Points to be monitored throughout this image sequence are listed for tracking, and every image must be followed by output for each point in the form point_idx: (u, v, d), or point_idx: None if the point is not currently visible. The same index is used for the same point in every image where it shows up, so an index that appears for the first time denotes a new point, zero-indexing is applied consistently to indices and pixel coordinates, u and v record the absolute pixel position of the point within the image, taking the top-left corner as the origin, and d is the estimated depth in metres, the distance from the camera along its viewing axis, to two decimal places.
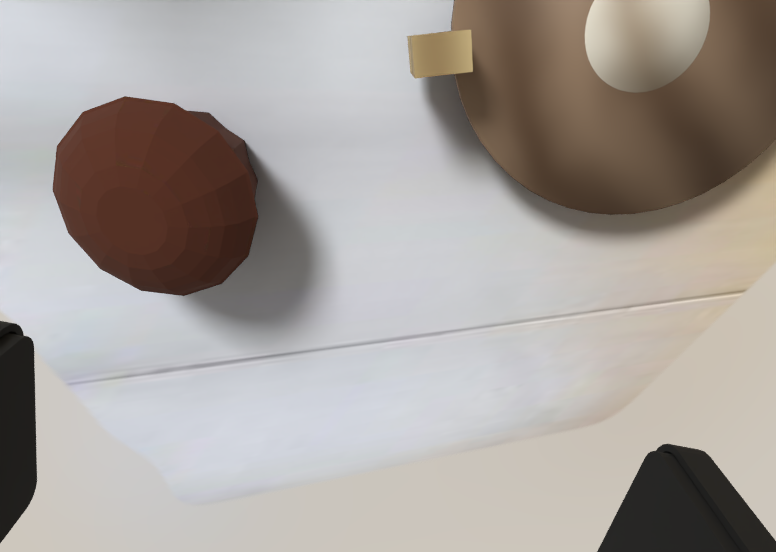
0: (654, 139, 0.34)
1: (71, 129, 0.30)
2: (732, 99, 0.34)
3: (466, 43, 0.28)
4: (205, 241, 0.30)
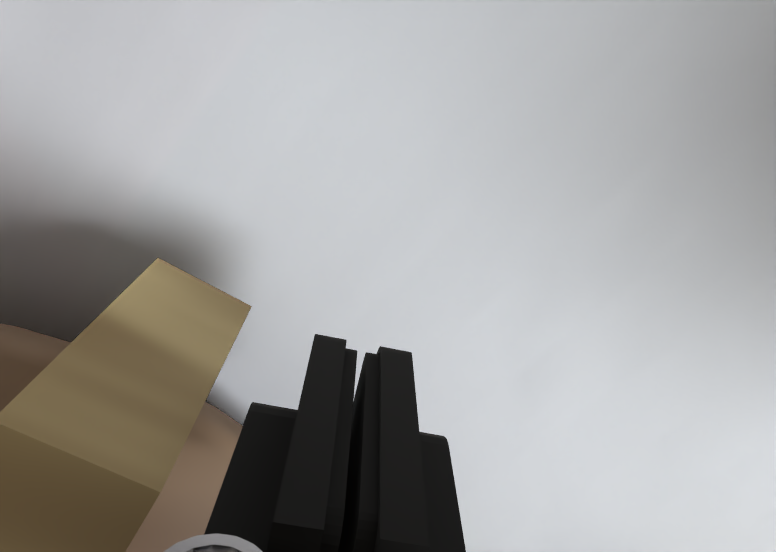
0: None
1: None
2: None
3: None
4: None
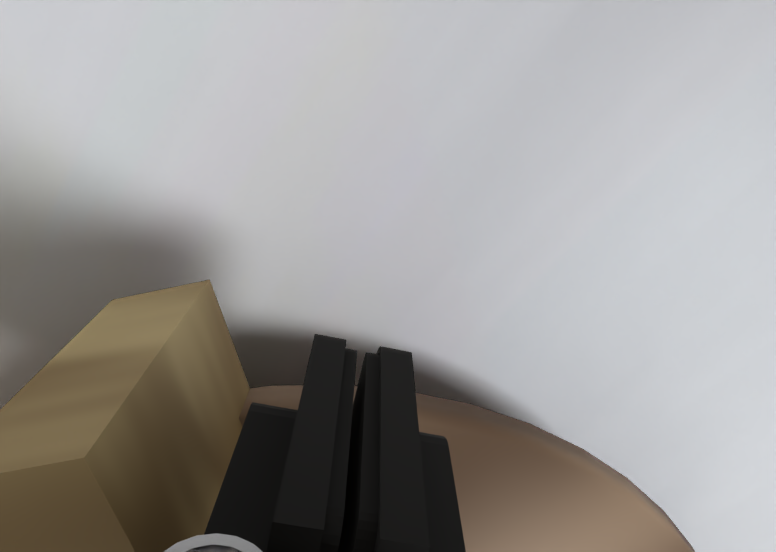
0: None
1: None
2: None
3: None
4: None
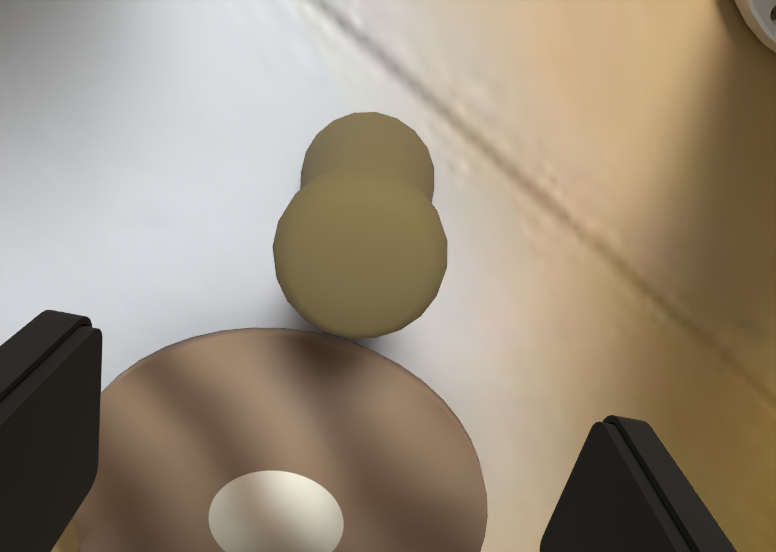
0: None
1: None
2: None
3: None
4: None
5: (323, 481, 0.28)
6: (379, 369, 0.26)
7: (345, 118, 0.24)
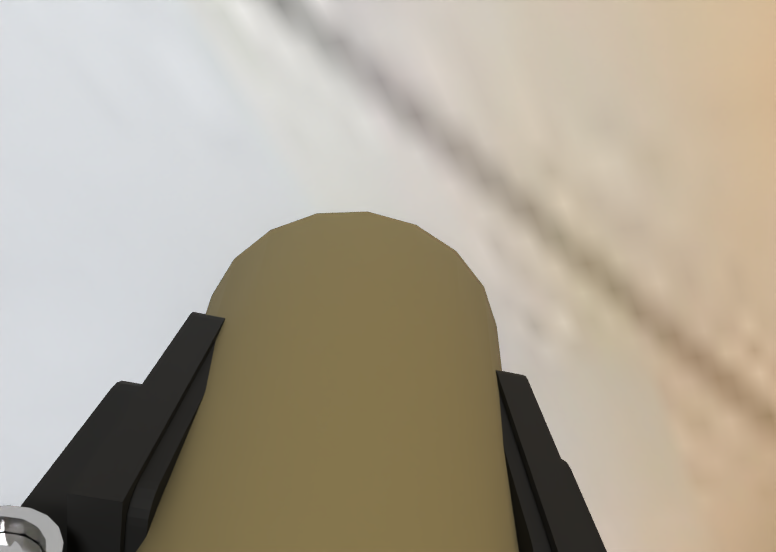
0: None
1: None
2: None
3: None
4: None
5: None
6: None
7: (296, 229, 0.10)
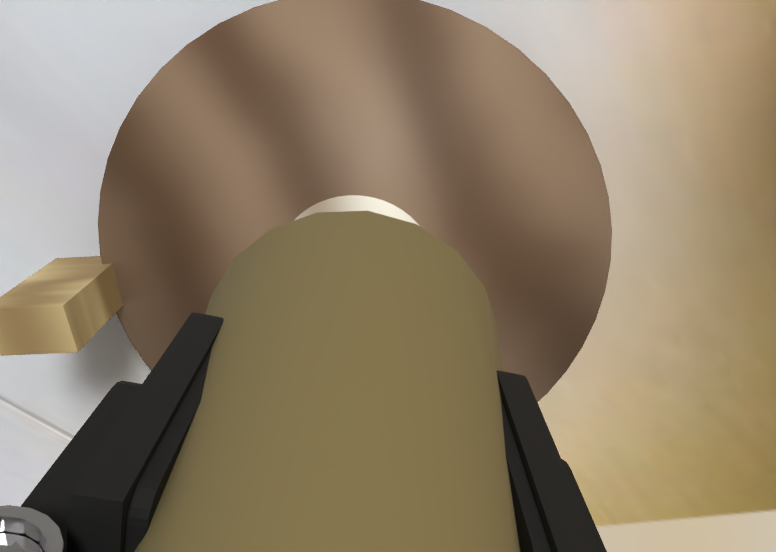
0: None
1: None
2: None
3: (60, 320, 0.21)
4: None
5: (414, 210, 0.23)
6: (493, 38, 0.21)
7: (296, 228, 0.10)
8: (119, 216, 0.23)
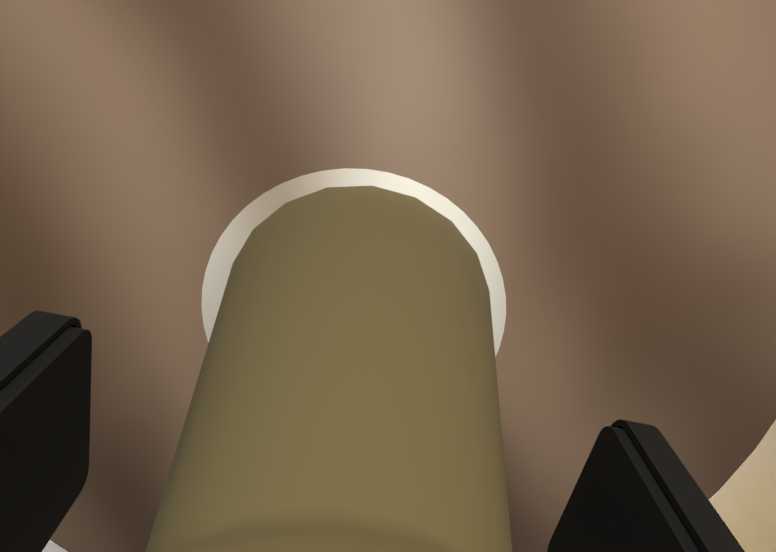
0: None
1: None
2: (570, 463, 0.15)
3: None
4: None
5: (472, 201, 0.12)
6: None
7: (308, 201, 0.11)
8: None
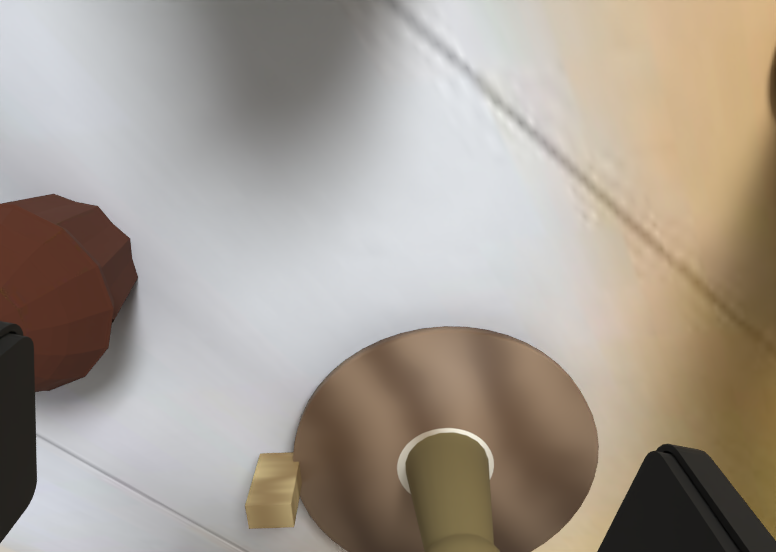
0: None
1: None
2: (516, 511, 0.42)
3: (287, 511, 0.37)
4: None
5: (483, 435, 0.40)
6: (533, 355, 0.37)
7: (435, 438, 0.39)
8: (308, 437, 0.40)
